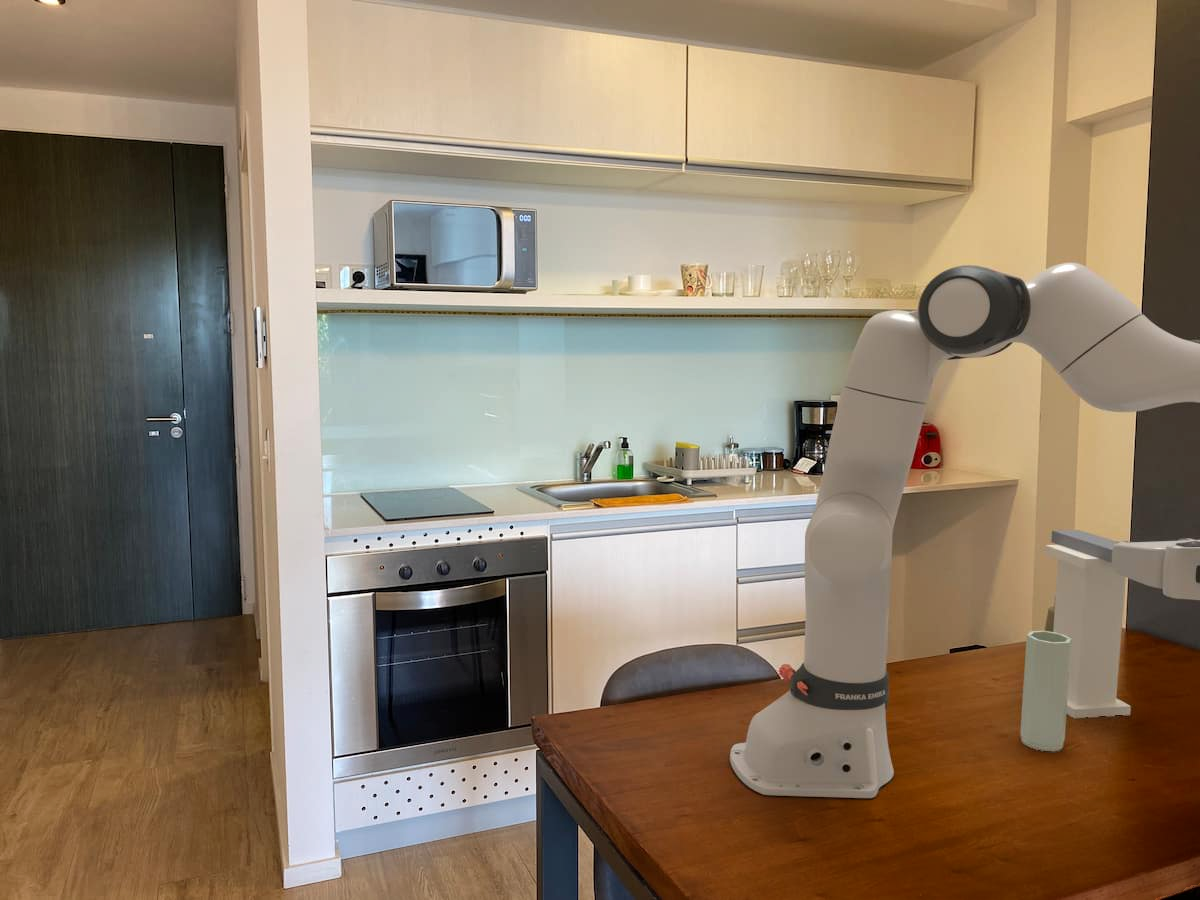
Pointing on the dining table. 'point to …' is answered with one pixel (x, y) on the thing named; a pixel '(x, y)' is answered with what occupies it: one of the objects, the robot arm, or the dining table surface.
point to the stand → (1090, 630)
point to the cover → (1085, 543)
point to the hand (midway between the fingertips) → (1150, 545)
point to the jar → (1045, 690)
